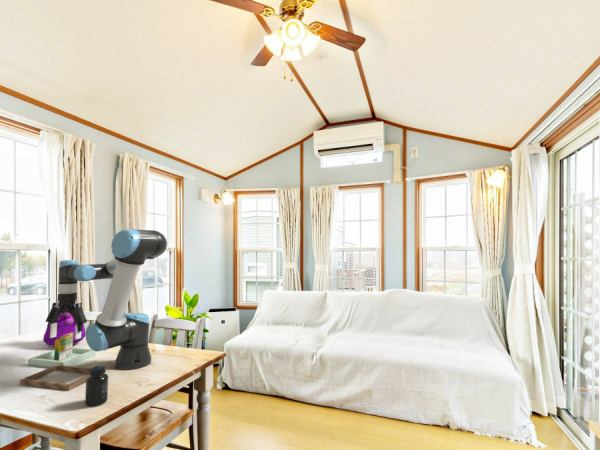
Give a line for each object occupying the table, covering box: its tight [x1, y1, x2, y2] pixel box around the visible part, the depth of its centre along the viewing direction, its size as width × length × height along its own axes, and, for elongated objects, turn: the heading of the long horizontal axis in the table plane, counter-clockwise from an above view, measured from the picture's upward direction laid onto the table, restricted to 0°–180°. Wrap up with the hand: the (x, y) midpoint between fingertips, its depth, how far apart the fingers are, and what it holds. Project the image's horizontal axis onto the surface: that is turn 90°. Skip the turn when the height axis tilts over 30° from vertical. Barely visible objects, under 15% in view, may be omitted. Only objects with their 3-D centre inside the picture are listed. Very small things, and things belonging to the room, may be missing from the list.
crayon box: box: [54, 332, 74, 361], centre depth 157 cm, size 7×3×12 cm, turn 170°
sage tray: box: [27, 346, 97, 369], centre depth 157 cm, size 18×18×3 cm
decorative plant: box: [42, 299, 86, 347], centre depth 181 cm, size 19×18×30 cm
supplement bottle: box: [84, 365, 109, 408], centre depth 118 cm, size 7×7×12 cm
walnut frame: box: [19, 365, 92, 391], centre depth 136 cm, size 22×16×2 cm
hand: (65, 338), depth 157 cm, fingers open, 13 cm apart
